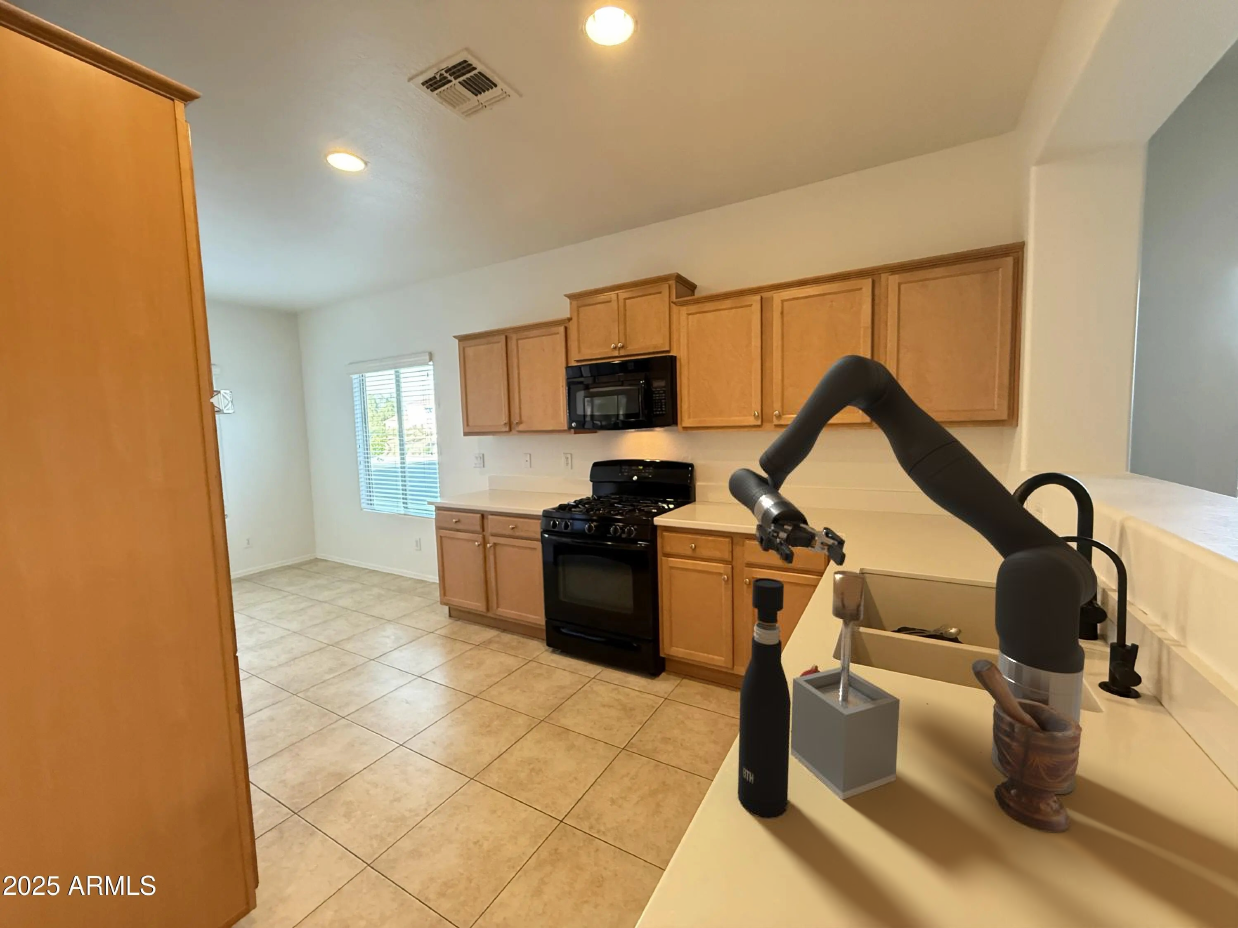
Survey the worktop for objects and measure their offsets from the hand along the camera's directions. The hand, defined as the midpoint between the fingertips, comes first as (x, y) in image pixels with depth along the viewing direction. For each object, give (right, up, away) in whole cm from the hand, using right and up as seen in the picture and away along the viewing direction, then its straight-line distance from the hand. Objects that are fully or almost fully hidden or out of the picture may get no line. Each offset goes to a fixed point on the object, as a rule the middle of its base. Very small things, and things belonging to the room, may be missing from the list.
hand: (816, 559), depth 79 cm
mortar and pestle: (+20, -30, -15) cm, 39 cm away
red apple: (+3, -28, +8) cm, 30 cm away
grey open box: (+1, -29, -7) cm, 30 cm away
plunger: (+1, -20, -8) cm, 21 cm away
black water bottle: (-13, -30, -13) cm, 35 cm away
